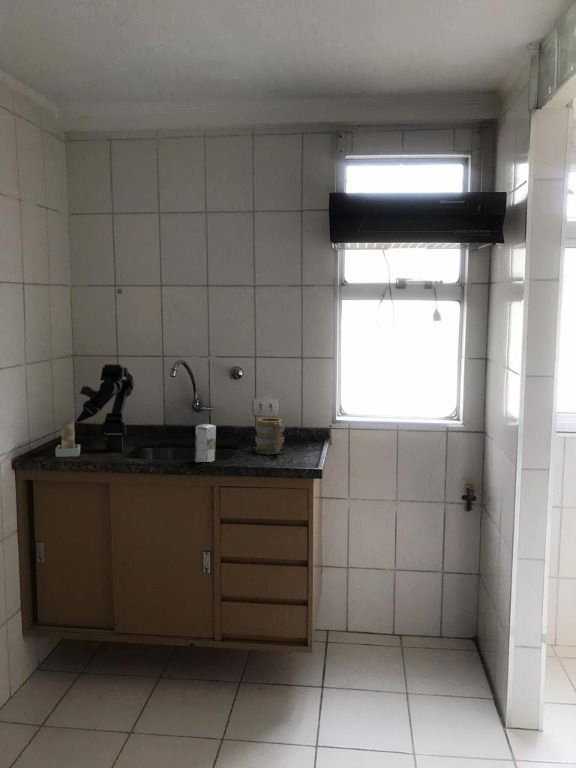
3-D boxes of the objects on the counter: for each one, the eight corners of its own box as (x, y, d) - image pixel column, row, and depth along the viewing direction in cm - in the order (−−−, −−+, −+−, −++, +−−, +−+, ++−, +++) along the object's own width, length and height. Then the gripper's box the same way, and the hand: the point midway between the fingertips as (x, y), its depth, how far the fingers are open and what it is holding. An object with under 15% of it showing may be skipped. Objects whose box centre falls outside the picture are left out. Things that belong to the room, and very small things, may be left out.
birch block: (74, 452, 266) (74, 421, 265) (73, 455, 262) (73, 423, 260) (63, 453, 265) (62, 421, 264) (61, 455, 261) (61, 423, 259)
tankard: (251, 449, 281) (251, 415, 279) (279, 448, 285) (279, 414, 283) (264, 459, 262) (264, 423, 260) (293, 458, 266) (294, 422, 264)
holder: (80, 451, 269) (80, 444, 268) (78, 456, 260) (78, 448, 260) (58, 452, 267) (58, 444, 266) (55, 456, 258) (55, 449, 258)
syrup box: (203, 459, 260) (204, 423, 258) (215, 461, 257) (216, 425, 255) (194, 462, 255) (195, 425, 254) (206, 464, 252) (207, 427, 251)
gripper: (96, 377, 273) (68, 403, 272) (88, 380, 254) (59, 408, 254) (115, 396, 275) (88, 422, 274) (109, 400, 256) (80, 428, 255)
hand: (79, 420), depth 264 cm, fingers open, 9 cm apart
